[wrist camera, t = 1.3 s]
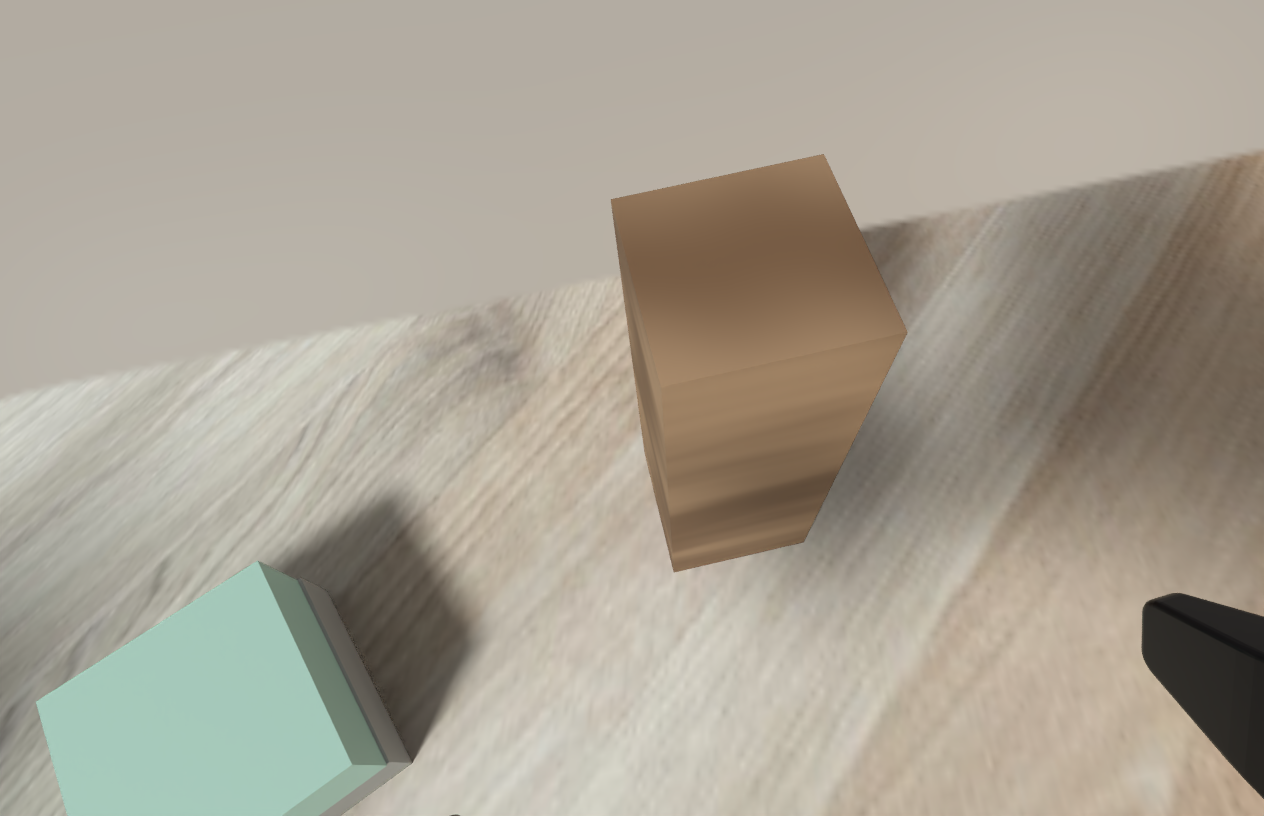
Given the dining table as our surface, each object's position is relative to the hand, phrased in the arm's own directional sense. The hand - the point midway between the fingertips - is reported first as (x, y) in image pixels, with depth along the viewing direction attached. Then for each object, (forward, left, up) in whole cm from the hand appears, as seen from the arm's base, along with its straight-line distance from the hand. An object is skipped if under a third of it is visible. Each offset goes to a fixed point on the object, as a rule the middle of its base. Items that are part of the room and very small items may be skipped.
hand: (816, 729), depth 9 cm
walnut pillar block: (+2, -8, -14) cm, 16 cm away
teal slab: (+14, +3, -12) cm, 19 cm away
